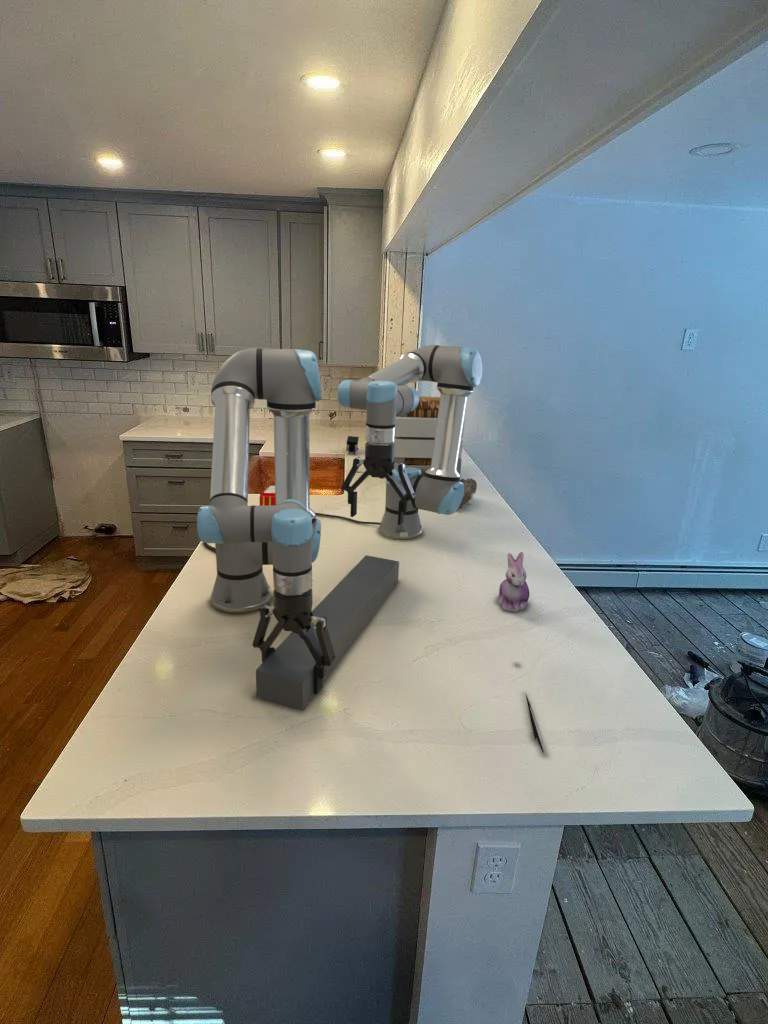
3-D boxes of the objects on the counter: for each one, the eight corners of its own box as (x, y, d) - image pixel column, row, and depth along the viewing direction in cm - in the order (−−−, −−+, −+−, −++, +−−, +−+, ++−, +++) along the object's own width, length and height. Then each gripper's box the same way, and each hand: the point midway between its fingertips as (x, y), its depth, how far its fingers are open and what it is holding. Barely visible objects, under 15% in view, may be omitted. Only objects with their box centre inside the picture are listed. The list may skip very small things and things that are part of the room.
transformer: (382, 463, 289) (386, 382, 275) (445, 464, 293) (451, 384, 279) (390, 482, 257) (394, 392, 243) (460, 483, 261) (468, 394, 247)
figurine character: (358, 457, 303) (358, 448, 316) (358, 444, 299) (359, 435, 313) (345, 457, 302) (346, 447, 316) (345, 443, 299) (347, 434, 313)
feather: (517, 669, 129) (522, 662, 128) (543, 757, 102) (550, 750, 102) (511, 665, 129) (516, 659, 128) (535, 752, 102) (542, 745, 101)
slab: (365, 575, 168) (365, 555, 166) (398, 581, 165) (399, 561, 163) (256, 697, 114) (255, 669, 112) (302, 710, 111) (302, 682, 109)
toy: (300, 481, 221) (289, 494, 192) (300, 514, 224) (289, 533, 194) (268, 480, 221) (253, 493, 191) (269, 514, 223) (254, 532, 194)
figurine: (511, 616, 149) (518, 564, 143) (487, 598, 157) (493, 549, 152) (539, 609, 153) (547, 558, 148) (514, 592, 161) (521, 544, 156)
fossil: (440, 484, 244) (470, 465, 239) (453, 501, 247) (482, 482, 242) (440, 506, 224) (472, 486, 219) (454, 524, 227) (486, 504, 222)
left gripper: (231, 585, 110) (236, 680, 118) (339, 608, 104) (337, 708, 111) (251, 569, 117) (255, 661, 125) (354, 591, 110) (351, 686, 118)
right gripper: (329, 439, 147) (328, 516, 154) (422, 451, 140) (416, 531, 147) (341, 434, 154) (340, 508, 161) (430, 445, 146) (424, 521, 153)
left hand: (294, 683), depth 118 cm, fingers closed on slab, 10 cm apart
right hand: (376, 519), depth 154 cm, fingers open, 13 cm apart
